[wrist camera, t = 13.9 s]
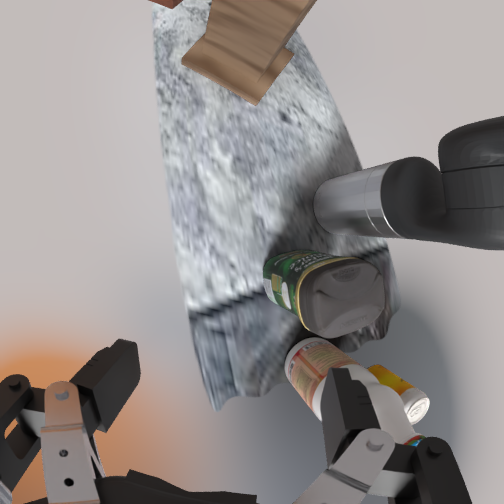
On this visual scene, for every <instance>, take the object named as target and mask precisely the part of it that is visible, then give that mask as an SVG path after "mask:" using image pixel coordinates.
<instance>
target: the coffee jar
mask: <svg viewBox="0 0 504 504" xmlns="http://www.w3.org/2000/svg"><path fill="white" fill-rule="evenodd" d="M263 281H264V287H265V290H266V293H267V296H268V297H269V299H270V300H271V301H272V302H274V303H275V304H277V305H279V306H281V307H283V308H285V309H286V310H288V311H290V312H292V313H293V314H295V315H297V316H298V317H299V318H300V321H301V322H302V324H303V325H304V326H305V328H307V329H308V330H309V331H311V332H313V333H315V334H317V335H319V336H321V337H324V338H335V337H339V336H342V335H345V334H348V333H351V332H354V331H356V330H359V329H361V328H363V327H365V326H367V325H369V324H371V323H372V322H373V321H374V320H376V319H377V317H378V316H379V315H380V313H381V312H382V310H383V309H384V285H383V278H382V275H381V273H380V272H379V270H378V269H377V268H376V267H375V266H374V265H373V264H372V263H370V262H368V261H364V260H362V259H359V258H352V257H341V256H334V255H329V254H324V253H320V252H316V251H312V250H297V251H291V252H287V253H283V254H280V255H277V256H275V257H273V258H271V259H270V260H268V262H267V263H266V264H265V266H264V269H263Z"/></svg>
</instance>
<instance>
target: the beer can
mask: <svg viewBox="0 0 504 504" xmlns="http://www.w3.org/2000/svg"><path fill="white" fill-rule="evenodd" d="M367 370H368V371H370V372H371V373H372V374H373V375H374V376H375V377H376V378H377V380H378V381H379V383H380V384H381V385H385V386H388V387H390V388H392V389H393V390H394V391H395V392H396V393H398V395H399V396H400V397H401V399H402V401H403V404H404V410H405V413H406V415H407V417H408V419H409V421H410V423H411V425H413V424H415V423H417V422H418V421H419V420H421V418H423V416H424V415H425V413H426V412H427V410H428V408H429V403H430V402H429V399H428V398H427V396H426V394H425V393H423V392H422V391H420V390H419V389H417V388H415V387H414V386H412V385H411V384H409V383H408V382H406V381H404V380H403V379H401V378H400V377H398V376H397V375H395V374H394V373H392V372H391V371H389V370H387V369H386V368H384V367H383V366H381V365H374V366H371V367H369V368H367Z"/></svg>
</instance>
